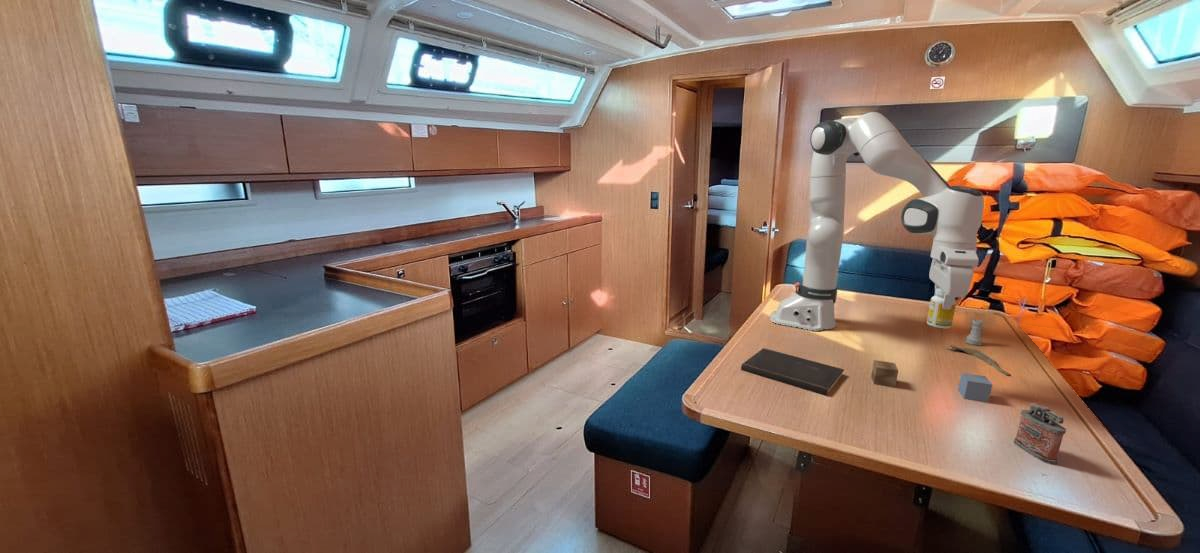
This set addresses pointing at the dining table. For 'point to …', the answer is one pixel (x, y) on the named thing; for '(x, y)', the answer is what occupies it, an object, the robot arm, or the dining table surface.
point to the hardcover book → (793, 371)
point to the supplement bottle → (940, 311)
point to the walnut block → (884, 373)
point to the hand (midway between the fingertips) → (942, 304)
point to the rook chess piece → (975, 333)
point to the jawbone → (981, 356)
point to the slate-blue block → (975, 387)
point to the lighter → (1040, 433)
